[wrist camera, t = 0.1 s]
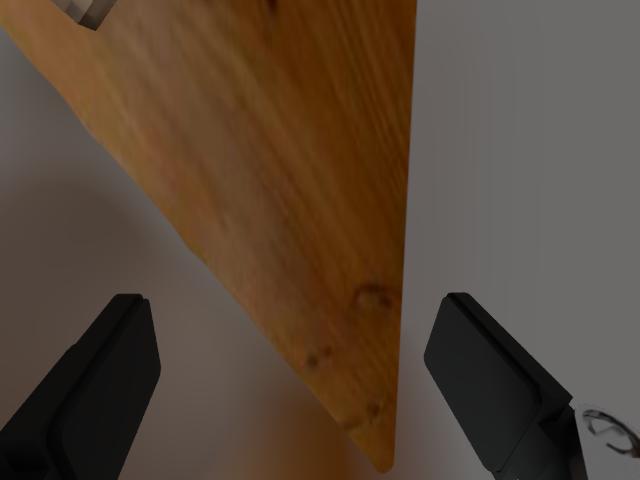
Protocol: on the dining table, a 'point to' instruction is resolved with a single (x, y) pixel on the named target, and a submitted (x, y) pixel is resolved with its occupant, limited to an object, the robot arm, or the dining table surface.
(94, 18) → the box
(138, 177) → the dining table surface
